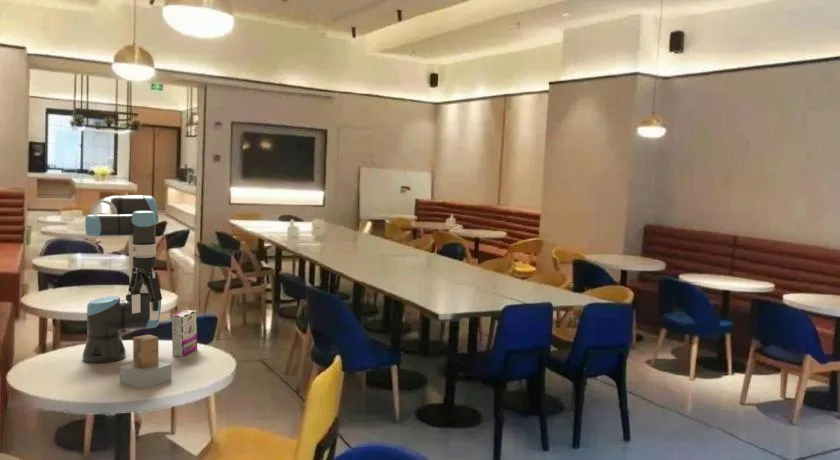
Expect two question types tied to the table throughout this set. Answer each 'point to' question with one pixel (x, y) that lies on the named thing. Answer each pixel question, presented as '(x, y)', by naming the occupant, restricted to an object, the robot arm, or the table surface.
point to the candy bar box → (184, 333)
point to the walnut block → (145, 351)
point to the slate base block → (145, 375)
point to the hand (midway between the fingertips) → (145, 316)
